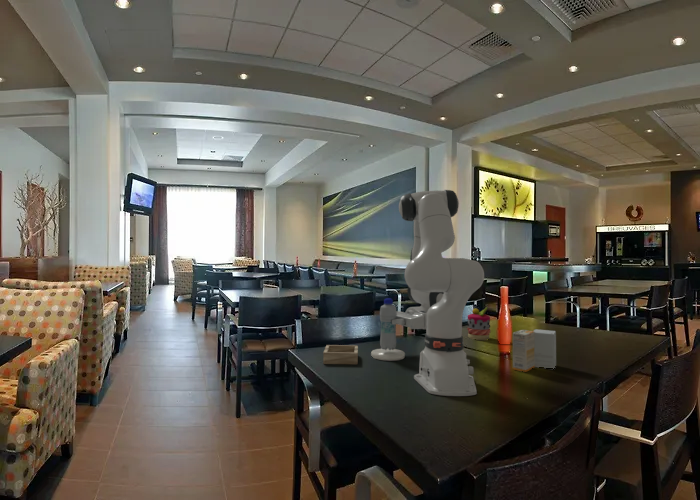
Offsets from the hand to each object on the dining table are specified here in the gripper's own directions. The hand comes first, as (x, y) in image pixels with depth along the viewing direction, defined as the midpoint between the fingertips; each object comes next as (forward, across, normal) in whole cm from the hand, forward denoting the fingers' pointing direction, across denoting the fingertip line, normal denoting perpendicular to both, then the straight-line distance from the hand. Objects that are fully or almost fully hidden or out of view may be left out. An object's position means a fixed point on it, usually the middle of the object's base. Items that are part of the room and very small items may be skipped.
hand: (386, 320), depth 157 cm
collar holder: (+18, -4, +14) cm, 23 cm away
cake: (-59, -9, +15) cm, 62 cm away
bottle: (-1, 0, +12) cm, 12 cm away
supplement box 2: (-44, +37, +14) cm, 59 cm away
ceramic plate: (-1, 0, +14) cm, 14 cm away
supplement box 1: (-34, +36, +14) cm, 52 cm away
